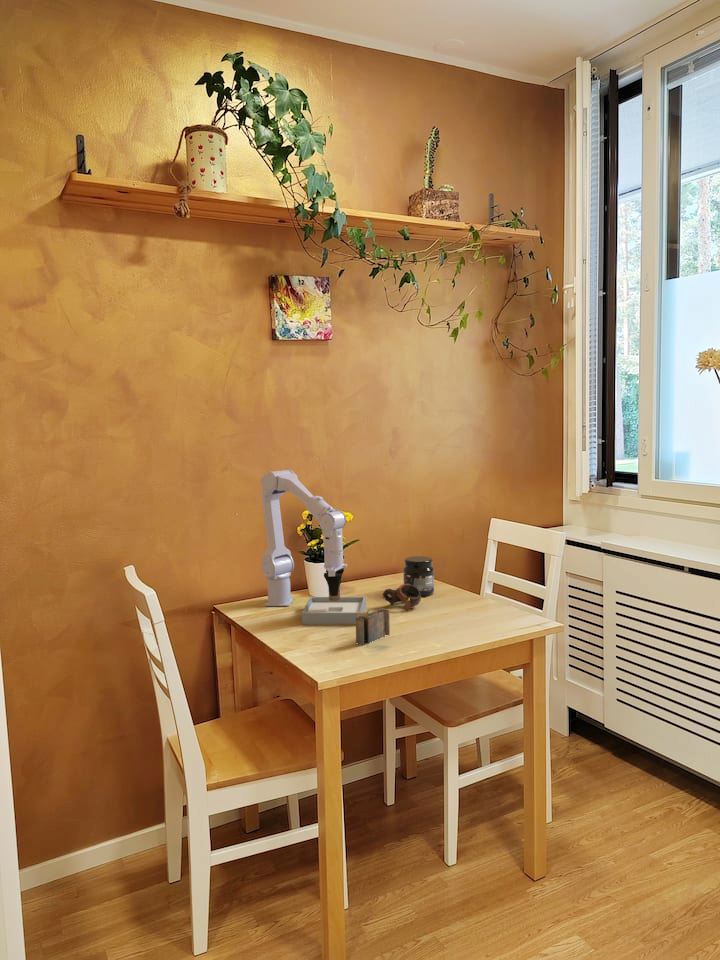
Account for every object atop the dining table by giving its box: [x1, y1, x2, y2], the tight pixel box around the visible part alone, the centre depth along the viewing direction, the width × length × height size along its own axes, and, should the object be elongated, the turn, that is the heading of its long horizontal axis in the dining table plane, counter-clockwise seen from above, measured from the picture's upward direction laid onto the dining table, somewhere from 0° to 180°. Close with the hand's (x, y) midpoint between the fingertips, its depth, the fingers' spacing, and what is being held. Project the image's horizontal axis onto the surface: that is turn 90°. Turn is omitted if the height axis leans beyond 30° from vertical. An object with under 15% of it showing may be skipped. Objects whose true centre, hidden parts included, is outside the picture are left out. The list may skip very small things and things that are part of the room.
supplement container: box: [402, 555, 435, 597], centre depth 250 cm, size 10×10×12 cm
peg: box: [328, 585, 341, 601], centre depth 225 cm, size 3×3×6 cm
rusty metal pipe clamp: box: [382, 583, 422, 611], centre depth 234 cm, size 12×10×8 cm
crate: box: [301, 596, 367, 626], centre depth 226 cm, size 18×18×4 cm
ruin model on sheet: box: [355, 608, 391, 646], centre depth 203 cm, size 11×3×10 cm, turn 139°
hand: (334, 594), depth 225 cm, fingers closed on peg, 3 cm apart
